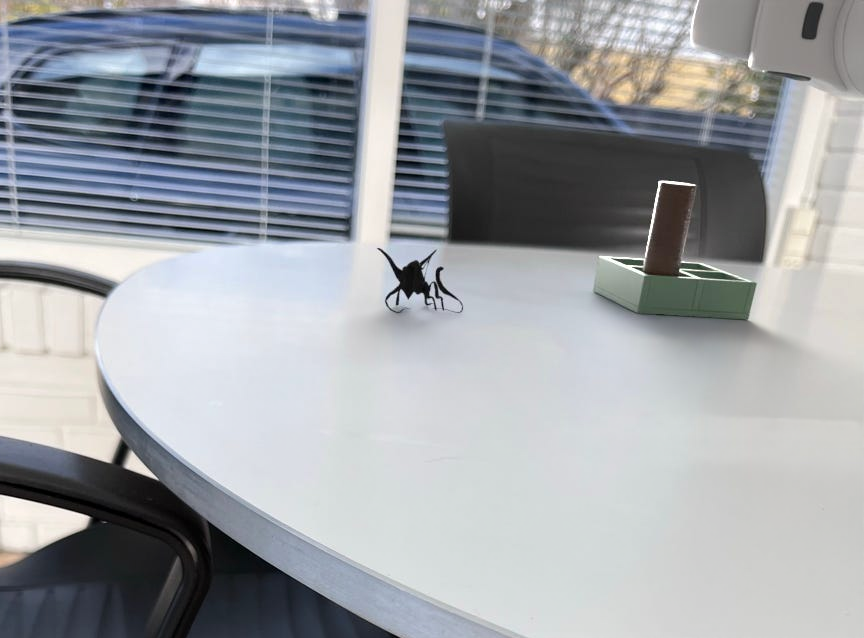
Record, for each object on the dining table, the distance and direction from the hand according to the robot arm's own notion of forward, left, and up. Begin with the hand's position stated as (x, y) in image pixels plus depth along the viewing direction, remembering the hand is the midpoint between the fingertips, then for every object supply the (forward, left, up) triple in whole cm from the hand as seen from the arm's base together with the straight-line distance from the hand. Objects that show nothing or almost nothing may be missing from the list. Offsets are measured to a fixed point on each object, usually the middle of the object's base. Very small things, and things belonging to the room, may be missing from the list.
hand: (776, 35), depth 86 cm
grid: (-3, -15, -24) cm, 28 cm away
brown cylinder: (0, -12, -23) cm, 26 cm away
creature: (+26, -5, -24) cm, 36 cm away
